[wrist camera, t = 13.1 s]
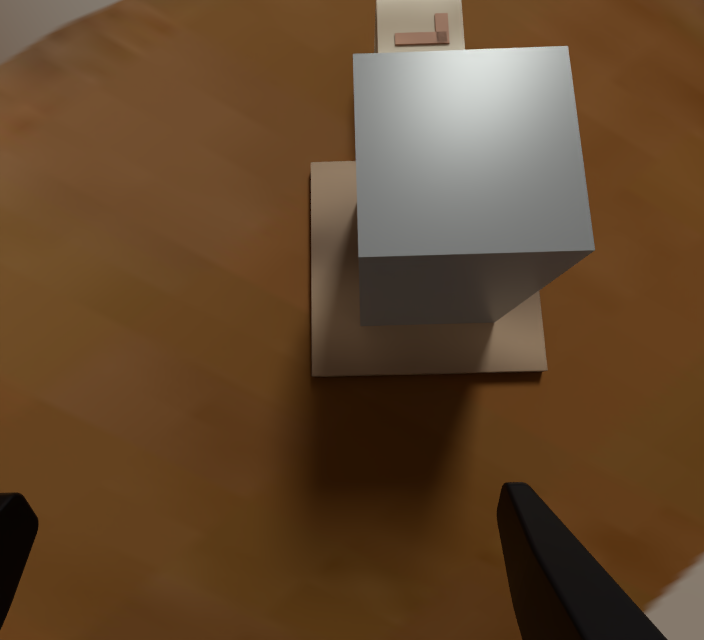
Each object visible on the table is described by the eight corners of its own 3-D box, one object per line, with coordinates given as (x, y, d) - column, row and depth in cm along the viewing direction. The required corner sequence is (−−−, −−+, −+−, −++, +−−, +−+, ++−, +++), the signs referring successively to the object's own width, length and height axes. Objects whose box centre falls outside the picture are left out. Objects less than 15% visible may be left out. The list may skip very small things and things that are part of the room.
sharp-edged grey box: (494, 322, 23) (595, 250, 13) (360, 326, 23) (358, 257, 13) (483, 197, 24) (568, 46, 14) (357, 201, 24) (352, 53, 14)
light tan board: (542, 371, 23) (547, 370, 22) (313, 376, 23) (312, 375, 22) (521, 161, 25) (525, 155, 24) (312, 168, 25) (310, 162, 25)
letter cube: (450, 114, 26) (466, 59, 22) (376, 116, 26) (378, 61, 22) (445, 50, 27) (460, -15, 23) (374, 53, 27) (376, -12, 23)
